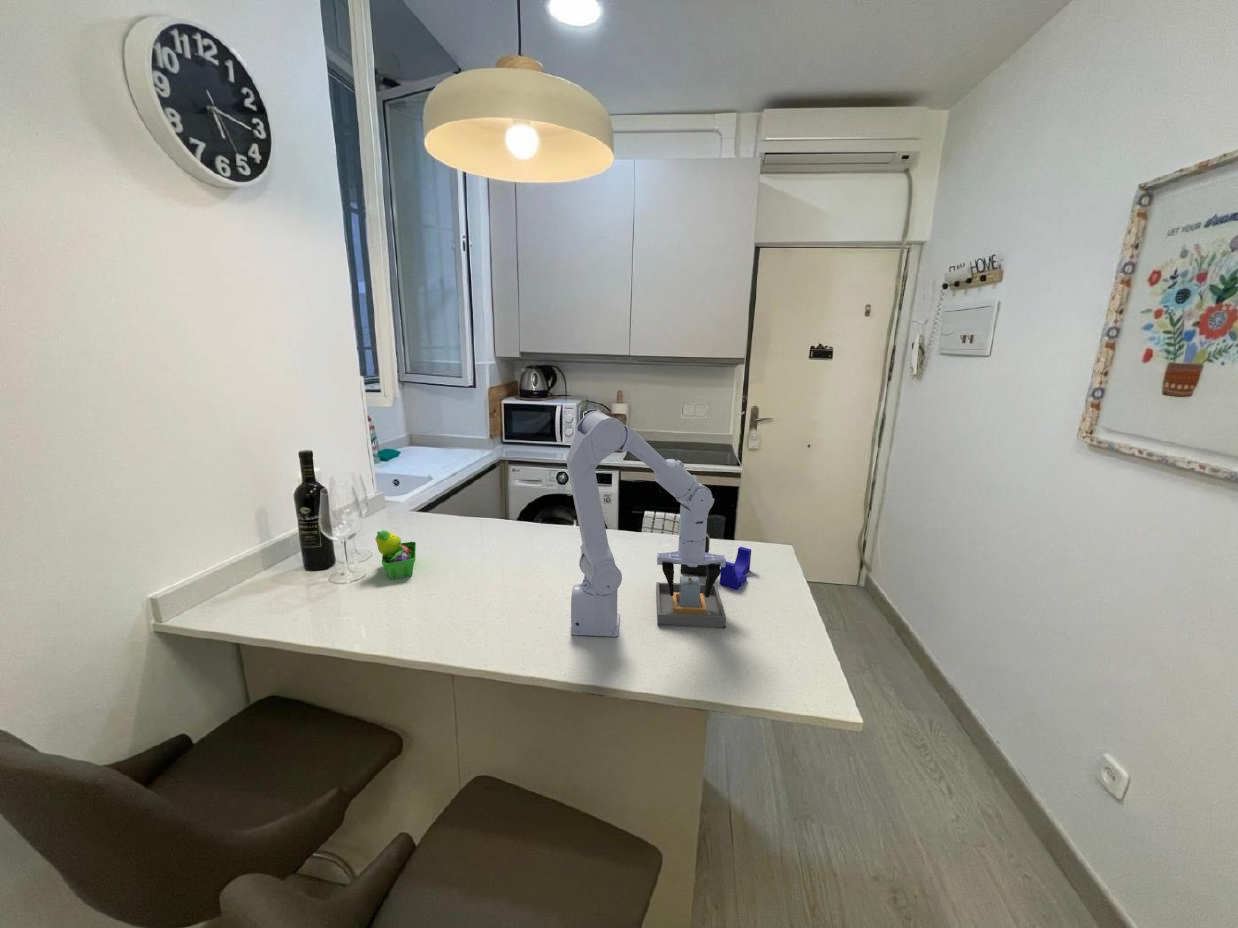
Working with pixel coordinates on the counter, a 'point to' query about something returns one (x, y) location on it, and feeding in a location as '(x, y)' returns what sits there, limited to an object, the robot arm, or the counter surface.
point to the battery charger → (700, 569)
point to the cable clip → (736, 570)
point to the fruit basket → (396, 555)
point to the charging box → (689, 608)
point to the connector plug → (689, 591)
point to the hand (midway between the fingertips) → (689, 594)
